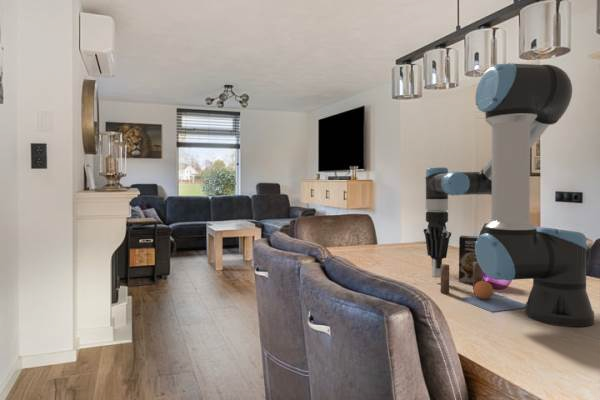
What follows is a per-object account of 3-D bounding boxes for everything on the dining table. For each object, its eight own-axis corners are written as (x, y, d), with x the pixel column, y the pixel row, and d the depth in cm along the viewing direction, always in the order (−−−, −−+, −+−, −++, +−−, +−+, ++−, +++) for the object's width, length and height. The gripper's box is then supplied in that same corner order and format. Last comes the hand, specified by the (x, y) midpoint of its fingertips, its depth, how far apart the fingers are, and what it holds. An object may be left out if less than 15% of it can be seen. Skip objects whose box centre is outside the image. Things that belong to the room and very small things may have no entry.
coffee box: (458, 281, 145) (458, 237, 145) (460, 278, 151) (460, 235, 150) (486, 284, 141) (486, 238, 140) (487, 280, 147) (487, 236, 146)
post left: (451, 293, 130) (451, 265, 129) (444, 294, 129) (444, 266, 129) (445, 291, 132) (445, 264, 132) (439, 292, 132) (439, 264, 131)
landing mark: (532, 307, 115) (532, 306, 115) (491, 312, 110) (491, 311, 110) (494, 294, 128) (494, 294, 128) (457, 298, 124) (457, 298, 124)
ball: (481, 283, 127) (488, 300, 125) (467, 285, 126) (473, 302, 123) (493, 277, 123) (500, 295, 120) (478, 279, 121) (485, 297, 119)
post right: (483, 290, 134) (483, 262, 133) (476, 290, 133) (476, 263, 132) (477, 288, 136) (477, 261, 136) (471, 288, 135) (471, 262, 135)
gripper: (458, 211, 139) (457, 280, 140) (434, 209, 151) (434, 272, 152) (439, 212, 137) (439, 281, 138) (417, 210, 149) (417, 274, 150)
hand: (436, 276), depth 145 cm, fingers closed
